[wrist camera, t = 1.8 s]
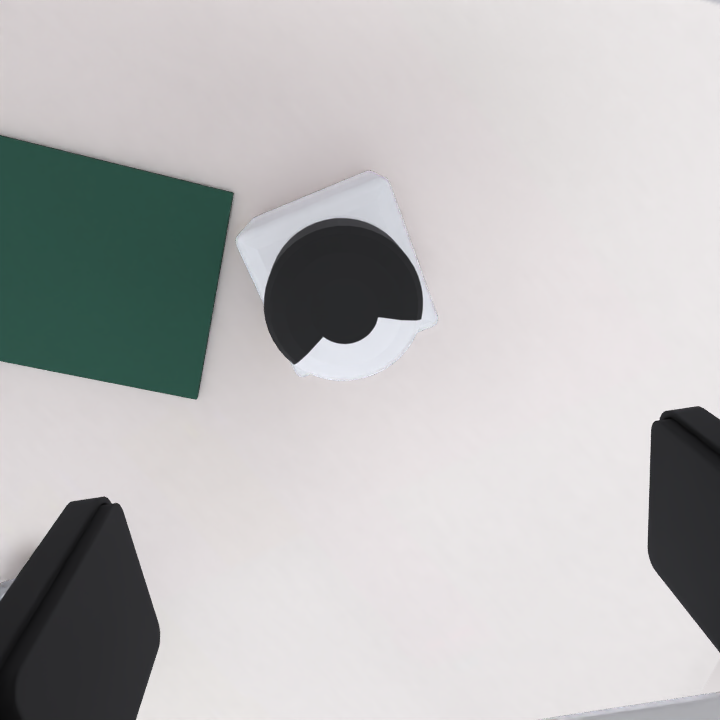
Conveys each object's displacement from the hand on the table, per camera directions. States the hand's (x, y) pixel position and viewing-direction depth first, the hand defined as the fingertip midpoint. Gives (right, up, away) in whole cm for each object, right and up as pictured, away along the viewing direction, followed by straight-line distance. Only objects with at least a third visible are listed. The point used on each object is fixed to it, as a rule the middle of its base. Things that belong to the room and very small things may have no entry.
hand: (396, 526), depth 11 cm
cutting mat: (-15, +8, +22) cm, 28 cm away
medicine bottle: (-2, +9, +23) cm, 25 cm away
